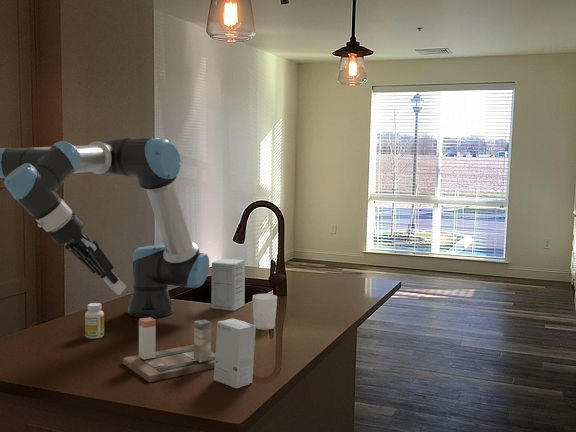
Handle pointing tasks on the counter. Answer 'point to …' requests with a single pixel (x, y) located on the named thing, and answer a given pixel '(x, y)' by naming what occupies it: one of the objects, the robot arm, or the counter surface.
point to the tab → (147, 338)
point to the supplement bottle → (94, 321)
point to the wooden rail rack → (177, 357)
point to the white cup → (264, 311)
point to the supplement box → (228, 284)
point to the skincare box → (234, 352)
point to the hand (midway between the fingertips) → (121, 290)
